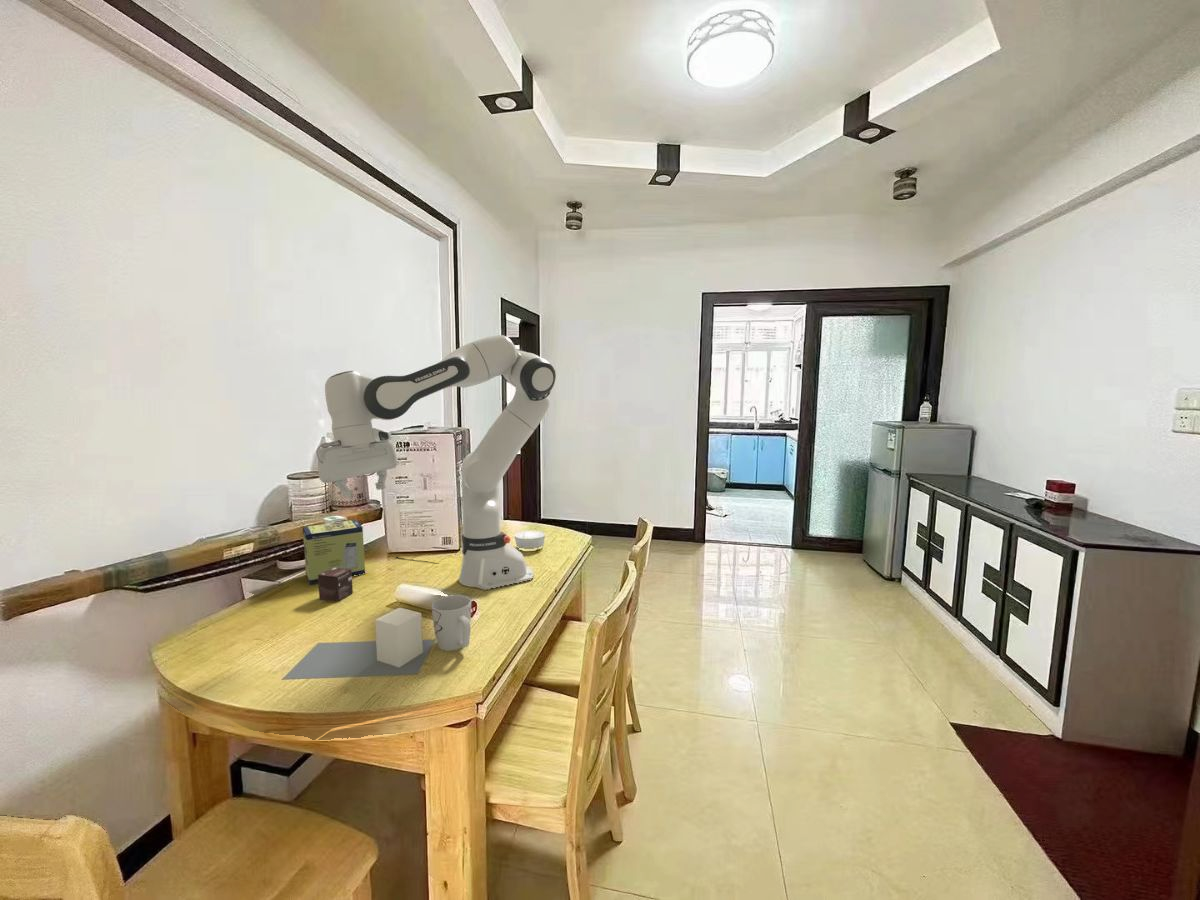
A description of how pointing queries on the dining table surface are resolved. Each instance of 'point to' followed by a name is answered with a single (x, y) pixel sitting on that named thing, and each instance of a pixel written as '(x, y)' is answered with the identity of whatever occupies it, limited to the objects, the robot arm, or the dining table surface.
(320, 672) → the slate mat
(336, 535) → the protein box
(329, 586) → the box
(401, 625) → the white upright block
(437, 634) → the mug
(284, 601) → the dining table surface
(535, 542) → the ramekin
